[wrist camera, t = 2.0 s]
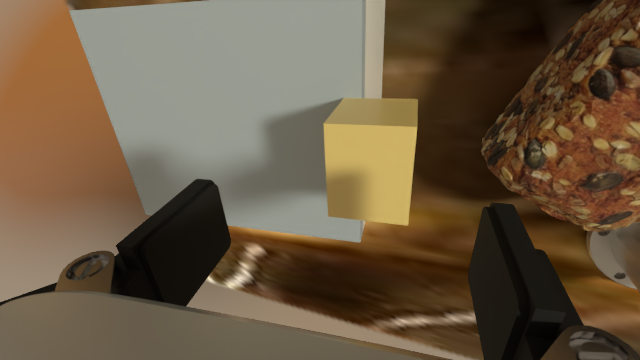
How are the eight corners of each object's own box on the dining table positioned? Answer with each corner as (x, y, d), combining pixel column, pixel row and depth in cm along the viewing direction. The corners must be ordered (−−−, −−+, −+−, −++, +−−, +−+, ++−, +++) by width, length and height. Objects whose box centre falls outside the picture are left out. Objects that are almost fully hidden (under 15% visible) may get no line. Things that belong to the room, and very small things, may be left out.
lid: (427, -14, 16) (431, -23, 11) (405, 229, 24) (400, 300, 18) (99, 10, 22) (-14, 12, 16) (163, 201, 29) (101, 248, 23)
